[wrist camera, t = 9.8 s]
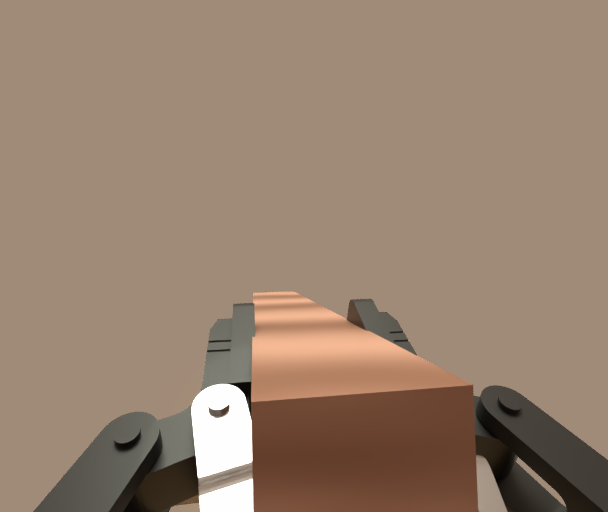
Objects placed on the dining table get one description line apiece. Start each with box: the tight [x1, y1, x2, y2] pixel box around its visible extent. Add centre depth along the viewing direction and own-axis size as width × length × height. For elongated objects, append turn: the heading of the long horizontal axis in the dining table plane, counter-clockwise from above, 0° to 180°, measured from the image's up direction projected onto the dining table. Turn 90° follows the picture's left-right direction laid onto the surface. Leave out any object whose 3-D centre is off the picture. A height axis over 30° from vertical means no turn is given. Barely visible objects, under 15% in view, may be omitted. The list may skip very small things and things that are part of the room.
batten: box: [251, 292, 478, 512], centre depth 18 cm, size 26×4×3 cm, turn 8°
